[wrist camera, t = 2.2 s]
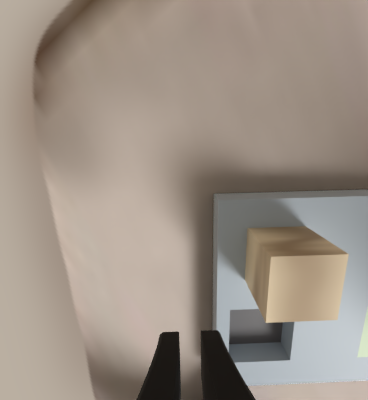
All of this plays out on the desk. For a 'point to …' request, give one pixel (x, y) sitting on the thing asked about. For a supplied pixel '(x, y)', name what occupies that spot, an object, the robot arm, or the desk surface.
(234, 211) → the board
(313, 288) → the block
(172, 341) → the robot arm
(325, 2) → the desk surface
